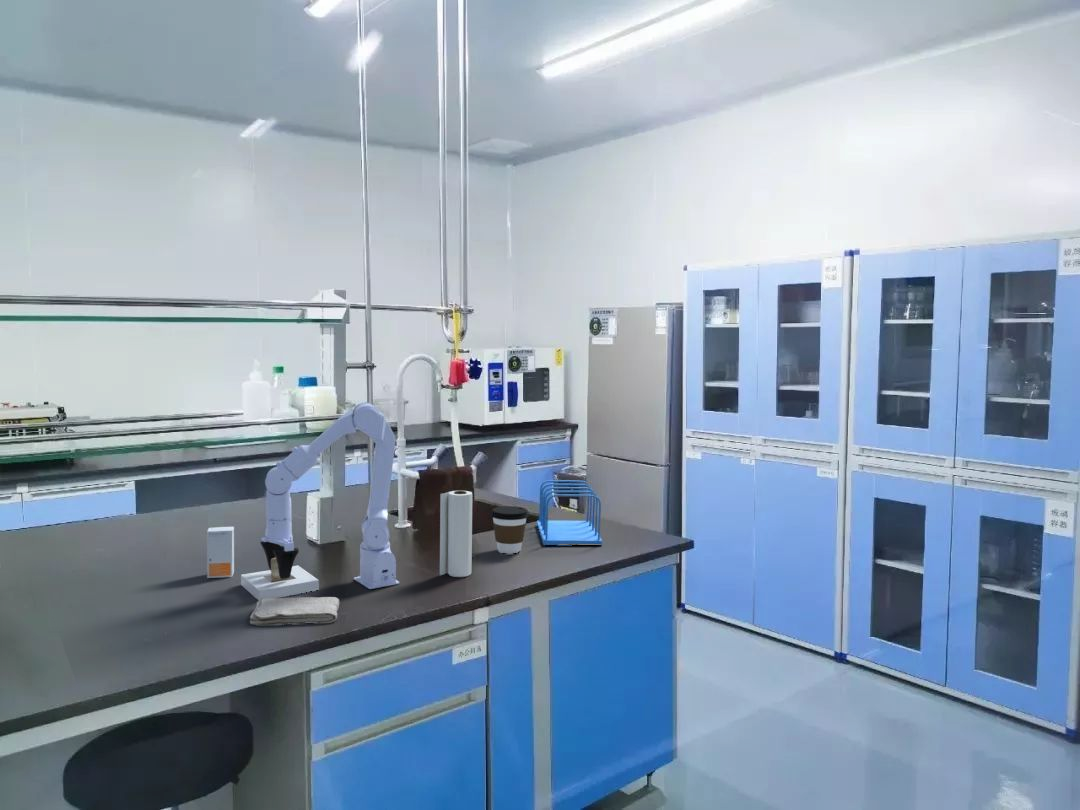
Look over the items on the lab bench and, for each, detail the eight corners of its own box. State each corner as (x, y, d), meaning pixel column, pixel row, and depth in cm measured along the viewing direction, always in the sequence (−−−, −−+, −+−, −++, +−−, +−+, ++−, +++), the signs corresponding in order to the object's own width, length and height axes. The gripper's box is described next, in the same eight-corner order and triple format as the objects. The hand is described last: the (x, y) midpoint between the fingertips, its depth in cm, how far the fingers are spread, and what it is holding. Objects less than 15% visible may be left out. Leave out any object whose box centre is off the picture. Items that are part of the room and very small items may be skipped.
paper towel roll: (474, 572, 205) (475, 490, 203) (466, 578, 199) (467, 495, 197) (448, 569, 207) (449, 488, 205) (439, 576, 201) (440, 493, 199)
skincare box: (206, 579, 195) (205, 531, 194) (209, 573, 199) (208, 527, 198) (233, 577, 197) (232, 530, 196) (234, 572, 201) (234, 526, 200)
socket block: (318, 590, 189) (318, 580, 188) (259, 601, 180) (259, 590, 180) (298, 575, 200) (298, 565, 199) (241, 584, 191) (240, 574, 191)
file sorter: (602, 547, 232) (603, 495, 231) (543, 547, 231) (544, 495, 229) (589, 526, 257) (590, 479, 256) (536, 526, 255) (537, 479, 254)
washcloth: (257, 609, 177) (257, 595, 176) (340, 605, 180) (340, 592, 180) (248, 629, 165) (248, 614, 165) (336, 624, 168) (336, 610, 168)
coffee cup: (515, 544, 232) (516, 504, 231) (535, 553, 223) (536, 511, 222) (483, 549, 227) (483, 508, 225) (502, 558, 217) (502, 516, 216)
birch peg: (291, 588, 190) (291, 559, 189) (275, 591, 187) (274, 562, 187) (284, 583, 193) (284, 555, 192) (268, 587, 190) (268, 558, 190)
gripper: (252, 514, 192) (253, 568, 193) (272, 526, 180) (272, 584, 181) (281, 510, 196) (282, 564, 197) (302, 522, 184) (302, 579, 186)
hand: (279, 573), depth 190 cm, fingers open, 7 cm apart
